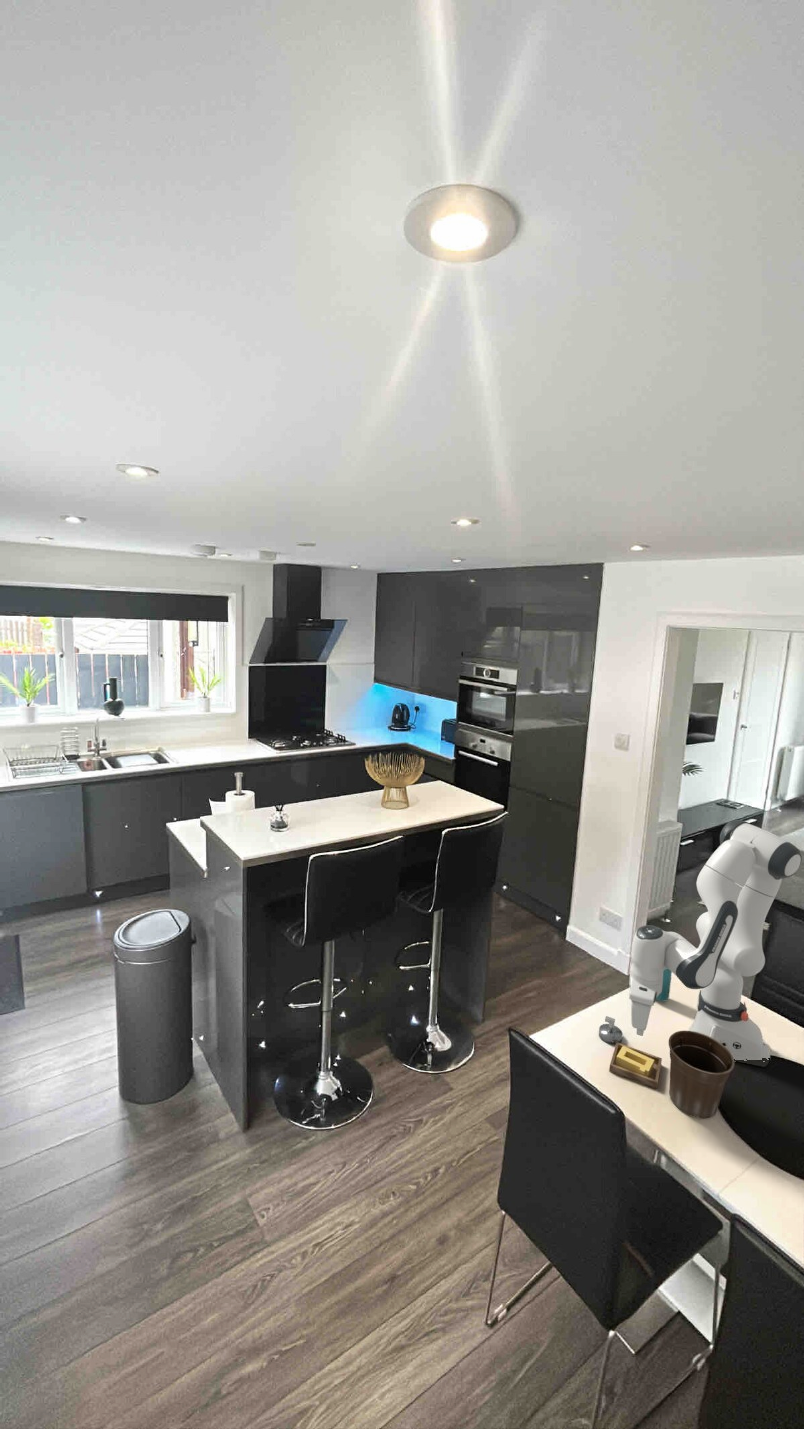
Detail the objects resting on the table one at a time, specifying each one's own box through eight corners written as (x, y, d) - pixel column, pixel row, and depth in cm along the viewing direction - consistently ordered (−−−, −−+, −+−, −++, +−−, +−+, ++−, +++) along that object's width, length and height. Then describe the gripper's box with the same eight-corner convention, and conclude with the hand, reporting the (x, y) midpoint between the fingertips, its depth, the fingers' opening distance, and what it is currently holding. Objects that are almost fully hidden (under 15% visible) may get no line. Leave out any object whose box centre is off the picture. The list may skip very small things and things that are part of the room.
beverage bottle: (670, 1006, 212) (677, 953, 209) (649, 1003, 213) (656, 950, 210) (666, 994, 218) (673, 943, 215) (646, 991, 220) (653, 940, 216)
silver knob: (623, 1034, 197) (625, 1017, 196) (619, 1047, 191) (621, 1030, 190) (601, 1026, 201) (602, 1009, 199) (596, 1039, 195) (598, 1021, 193)
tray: (661, 1064, 185) (661, 1058, 184) (656, 1089, 175) (657, 1082, 175) (615, 1048, 191) (616, 1042, 190) (609, 1071, 181) (609, 1064, 181)
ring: (622, 1053, 188) (622, 1045, 188) (653, 1067, 183) (654, 1060, 182) (614, 1066, 183) (615, 1058, 182) (646, 1081, 178) (647, 1073, 177)
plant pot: (736, 1107, 170) (745, 1055, 167) (709, 1137, 160) (717, 1082, 157) (679, 1071, 183) (686, 1022, 180) (650, 1097, 173) (657, 1046, 170)
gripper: (639, 960, 189) (636, 1000, 191) (628, 997, 171) (625, 1041, 174) (662, 965, 186) (658, 1007, 188) (652, 1004, 168) (649, 1049, 171)
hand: (642, 1024), depth 181 cm, fingers open, 8 cm apart
